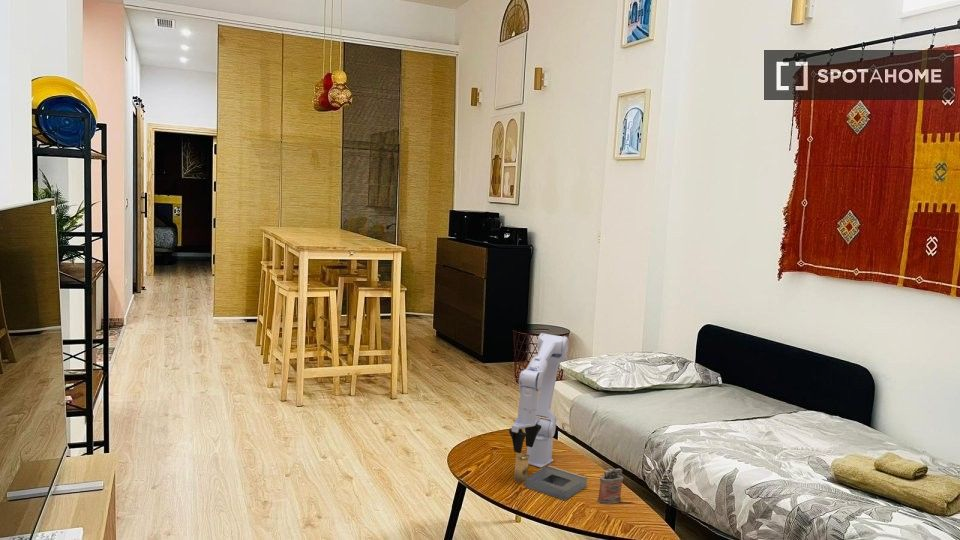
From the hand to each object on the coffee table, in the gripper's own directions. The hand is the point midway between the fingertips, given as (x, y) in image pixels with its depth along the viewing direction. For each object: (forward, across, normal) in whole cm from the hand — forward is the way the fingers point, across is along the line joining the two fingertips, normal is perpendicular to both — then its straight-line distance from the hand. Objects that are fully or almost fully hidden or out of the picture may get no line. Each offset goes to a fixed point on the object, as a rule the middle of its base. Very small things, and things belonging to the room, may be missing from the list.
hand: (523, 449), depth 233 cm
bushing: (+10, 0, 0) cm, 10 cm away
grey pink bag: (+10, -6, +28) cm, 30 cm away
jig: (+10, -4, +11) cm, 15 cm away
